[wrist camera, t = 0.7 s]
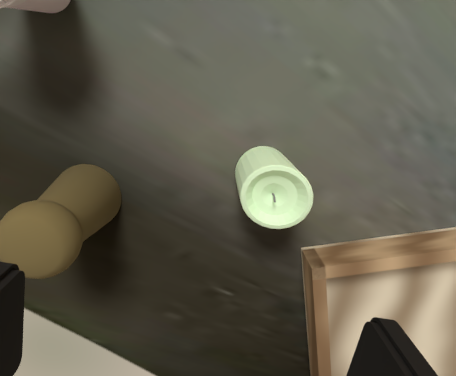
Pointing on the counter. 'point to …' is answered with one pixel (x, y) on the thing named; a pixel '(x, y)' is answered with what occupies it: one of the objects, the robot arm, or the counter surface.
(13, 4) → the smoothie
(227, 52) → the counter surface
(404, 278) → the wooden tray
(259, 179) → the candle
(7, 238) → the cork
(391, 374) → the robot arm
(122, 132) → the counter surface
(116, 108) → the counter surface
